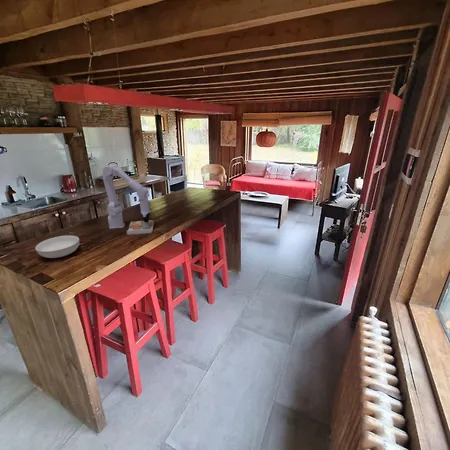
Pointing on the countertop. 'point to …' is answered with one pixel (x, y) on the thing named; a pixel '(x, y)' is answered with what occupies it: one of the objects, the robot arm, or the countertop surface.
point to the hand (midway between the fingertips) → (146, 223)
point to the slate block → (146, 225)
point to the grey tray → (139, 231)
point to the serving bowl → (58, 246)
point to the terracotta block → (136, 226)
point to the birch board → (141, 223)
